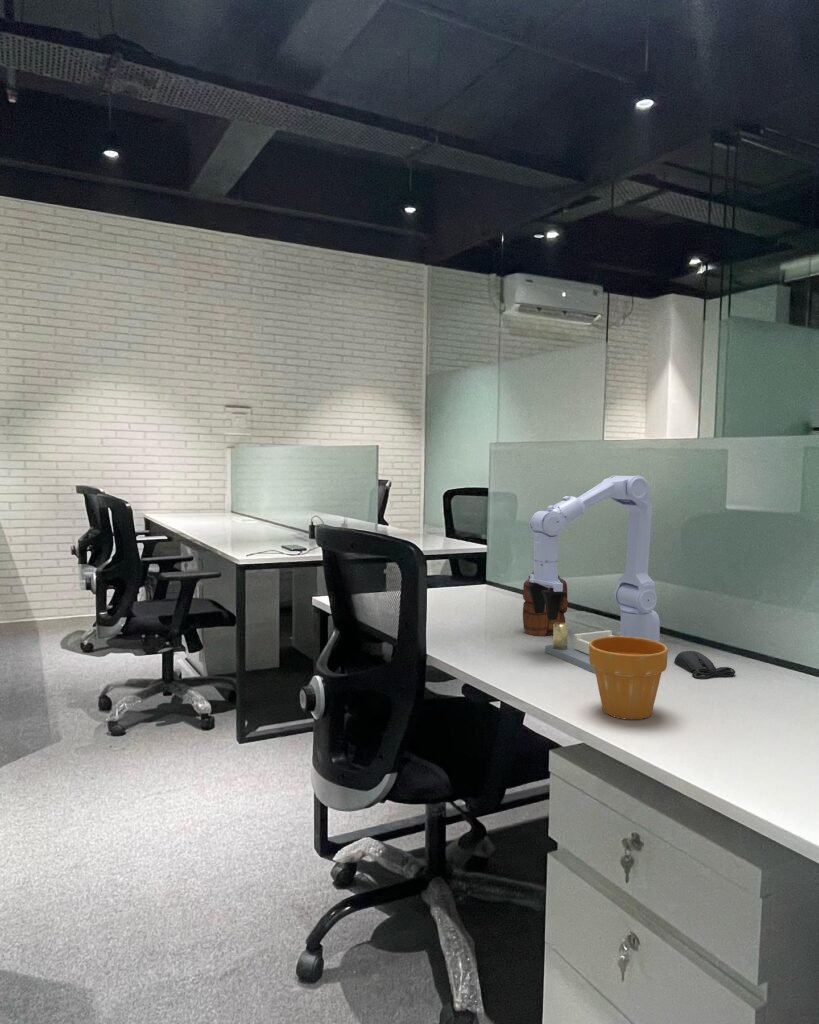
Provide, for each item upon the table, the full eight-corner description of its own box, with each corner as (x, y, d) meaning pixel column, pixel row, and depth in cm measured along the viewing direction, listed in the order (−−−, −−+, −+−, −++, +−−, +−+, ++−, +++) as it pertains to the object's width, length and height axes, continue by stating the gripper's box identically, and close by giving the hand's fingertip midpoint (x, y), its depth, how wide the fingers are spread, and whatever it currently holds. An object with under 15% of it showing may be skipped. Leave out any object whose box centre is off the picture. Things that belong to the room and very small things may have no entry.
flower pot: (621, 730, 126) (623, 658, 125) (573, 705, 139) (573, 640, 138) (683, 718, 132) (684, 649, 131) (630, 696, 145) (631, 632, 144)
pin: (562, 645, 178) (562, 622, 178) (570, 649, 175) (570, 625, 175) (550, 647, 177) (550, 623, 177) (558, 650, 174) (558, 626, 173)
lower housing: (608, 643, 179) (609, 630, 179) (635, 653, 170) (635, 639, 170) (573, 648, 175) (573, 634, 174) (598, 658, 166) (599, 643, 165)
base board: (597, 645, 185) (597, 631, 185) (664, 670, 163) (664, 654, 163) (545, 651, 179) (545, 637, 178) (607, 678, 157) (607, 662, 156)
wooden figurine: (528, 637, 194) (529, 571, 193) (521, 631, 200) (521, 567, 199) (570, 635, 196) (570, 570, 195) (561, 629, 202) (561, 566, 201)
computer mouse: (700, 661, 172) (700, 645, 171) (738, 679, 157) (739, 661, 157) (661, 663, 170) (662, 647, 170) (697, 681, 156) (697, 664, 155)
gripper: (518, 557, 179) (518, 610, 180) (543, 565, 165) (542, 623, 166) (545, 556, 181) (544, 609, 182) (571, 564, 167) (570, 621, 168)
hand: (545, 616), depth 174 cm, fingers open, 7 cm apart
